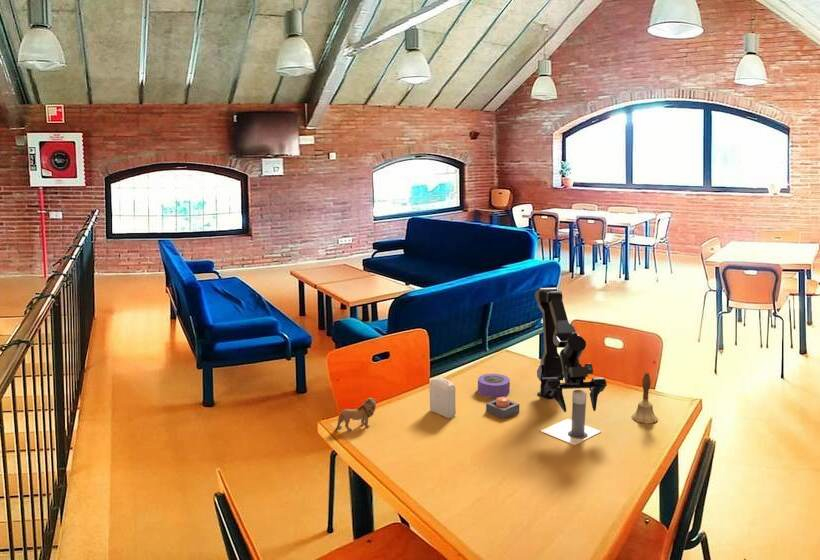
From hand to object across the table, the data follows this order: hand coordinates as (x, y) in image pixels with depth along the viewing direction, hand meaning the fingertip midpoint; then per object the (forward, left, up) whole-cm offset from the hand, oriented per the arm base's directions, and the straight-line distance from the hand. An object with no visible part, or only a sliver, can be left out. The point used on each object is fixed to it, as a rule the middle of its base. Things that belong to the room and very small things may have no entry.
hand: (580, 411), depth 207 cm
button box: (+3, -29, -9) cm, 31 cm away
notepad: (-1, -4, -9) cm, 10 cm away
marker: (-1, -1, -8) cm, 8 cm away
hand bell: (-28, +6, -9) cm, 30 cm away
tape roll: (-8, -44, -9) cm, 46 cm away
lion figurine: (+47, -53, -9) cm, 72 cm away
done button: (+3, -29, -9) cm, 31 cm away
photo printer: (+19, -42, -9) cm, 47 cm away
